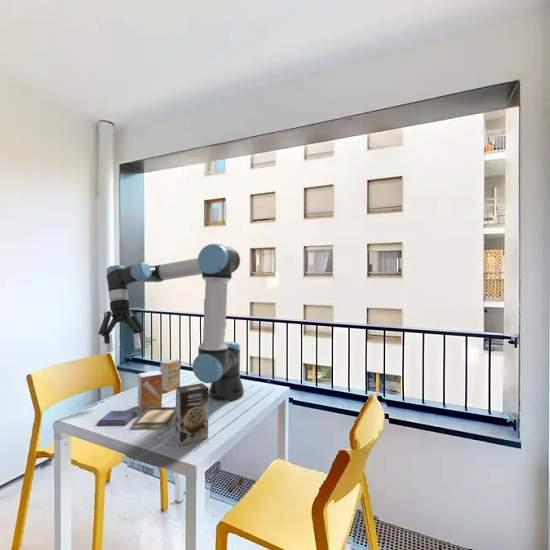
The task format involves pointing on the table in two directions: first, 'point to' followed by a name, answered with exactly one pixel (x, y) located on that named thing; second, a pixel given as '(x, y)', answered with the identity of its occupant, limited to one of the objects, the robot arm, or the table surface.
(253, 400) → the table surface
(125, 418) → the ink pad
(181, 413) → the coffee box
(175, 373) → the supplement box
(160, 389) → the small box
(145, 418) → the board
